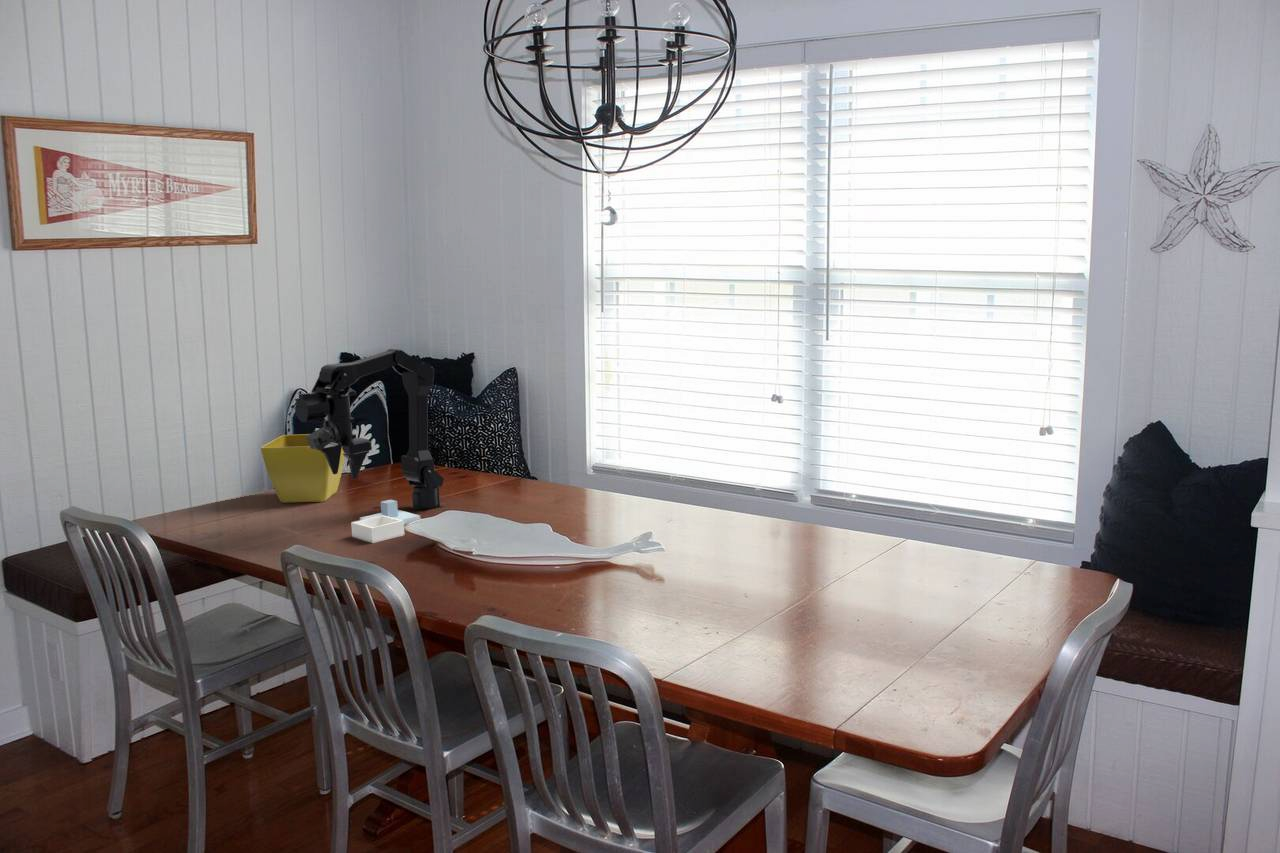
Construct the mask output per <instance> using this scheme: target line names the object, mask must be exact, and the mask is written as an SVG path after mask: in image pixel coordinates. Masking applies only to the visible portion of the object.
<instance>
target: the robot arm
mask: <svg viewBox="0 0 1280 853" xmlns="http://www.w3.org/2000/svg"><path fill="white" fill-rule="evenodd" d="M391 367H392V368H393V369H394V371H395V372H396V373H398V374H399V375H401V378H402V380H401V381H402V386H403V387H404V390H405V391H406V393H407V395H408V451H407V452H406V455H401V456H400V461H401V468H400V471H402V475H403V477H404V478H405V479H406V480H407V483H408V485H409V487H410V486H411V487H412V493H411V498H412V506H410V508H411V509H414V510H418V511H422V512H428V511H431V510H436V509H439V508H444V505H443V504H441V501H440V500H441V499H440V487H442V486H443V484H444V477H442V475H441V474H439V473H438V472H437V471H436V470H435V464H434V463H435V462H434V458H433V457H432V455H431V452H430V451H429V433H428V432H429V430H428V428H429V422H428V421H429V419H428V418H429V417H428V416H429V415H428V413H429V412H428V397H429V393H430V391H431V389H432V388H433V384H434V379H435V378H434V377H435V369H434V367H433V366H432V365H431V364H430V363H428V362H423V361H422V360H420V359H418V358H416V357H415V356H412V355H410V354H408V353H407V352H405V351H403V349H399V348H398V349H397V348H388V349H387V350H385V351H382V352H379V353H376V354H373V355H370V356H367V357H364V358H362V359H358V360H357V359H356V360H354V361H352V362H339V363H332V364H331V363H330V364H325V365H323V366H321V368H320V371H319V373H318V374H319V375H318V377H317V379H316V381H315V384H314V385H313V388H312V389H311V391H310V392H307V393H299V394H298V399H297V400H296V402H295V406H294V410H295V415H296V417H297V418H298V420H299V421H300V422H301V423H306V422H310V421H316V420H321V419H324V420H323V425H322V427H321V428H319V429H317V430H314V431H313V432H312V433H309V434H310V435H308V436H307V437H306V439H307V441H308V443H309V445H310V447H311V449H316V450H319V451H321V452H322V453H323V454H324V455H325V457H326V459H327V461H328V463H329V466H330V468H331V470H332V473H333V474H337V473H338V469H339V462H340V455H341V449H342V450H343V451H344V454H343V455H344V458H345V459H347V461H348V465H349V471H350V475H351V479H353V480H356V479H358V476H359V474H360V472H361V469H362V466H363V463H364V461H365V459H366V457H367V455H368V454H369V453H370V451H373V447H372V441H370V440H369V439H367V438H364V437H363V438H362V437H358V438H357V434H356V433H353V423H356V420H355V417H352V414H351V413H352V412H351V406H350V404H351V403H350V397H351V396H356V395H357V394H358V393H357V391H355V390H354V389H352V388H351V386H352V385H354V384H355V383H356V382H357V381H358V380H359V379H361V378H362V377H365V376H368V375H370V374H374V373H377V372H380V371H383V370H386V369H389V368H391ZM325 418H326V419H325Z"/></svg>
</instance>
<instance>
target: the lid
mask: <svg viewBox="0 0 1280 853" xmlns="http://www.w3.org/2000/svg"><path fill="white" fill-rule="evenodd" d="M398 508H399V507H398V501H397V500H394V499H387V500H382V501H380V510H381V512H378V513H374V514H371V515H366V516H361V517H359V521H360V520H364V519H368V518H373V517H377V516H381V515H384V516H388V517H392V518H396V519H399V520H403V521H404V524H407V523H410V522H413V521H416V520H420V518H421V515H420V514H415V513H413V512H412V513H411V512H408V511H404V510H400V509H398Z"/></svg>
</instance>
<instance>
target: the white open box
mask: <svg viewBox="0 0 1280 853" xmlns="http://www.w3.org/2000/svg"><path fill="white" fill-rule="evenodd" d="M350 523H351V524H350V526H351V536H352V538H354V539H358V540H362V541H363V542H367V543H371V544H374V543H375V544H376V543H379V542H383V541H386V540H390V539H391V540H392V539H394V538H399V537H403V536H405V525H404V521H403V520H399V519H396V518H392V517H388V516H384V515H381V516H377V517H373V518H368V519H364V520H360V519H359V520H354V521H352V522H350Z"/></svg>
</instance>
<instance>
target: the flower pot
mask: <svg viewBox="0 0 1280 853" xmlns="http://www.w3.org/2000/svg"><path fill="white" fill-rule="evenodd" d="M310 434H311V433H307V434H306V433H305V434H303V433H302V434H283V435H280V436H278V437H276V438H275V439H273V440H271V441H270V442H268V443H266V444H264V445H262V446H261V447H260V451H261V455H262V460H263V462H264V465H265V468H266V471H267V474H268V478H269V480H270V482H271V484H272V486H273V489H274V491H275V493H276V496H277V498H278V499H279V501H280V503H316V502H317V503H322V502H326V501H327V500H328V499H329V498H331V497H332V496H333V495H334V494H336V493H337V492H338V488H339V485H340V480H341V477H342V474H343V473H342V472H343V467H344V462H345V461H344V460H345V456H344V455H343V454H344V451H343V450H342V449H341V455H340V462H339V469H338V473H337V474H333V473H332V470H331V468H330V466H329V463H328V461H327V459H326V457H325V455H324V454H323V453H322V452H321V451H319V450H316V449H311V447H310V445H309V443H308V441H307V439H306V437H307V436H308V435H310Z"/></svg>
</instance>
